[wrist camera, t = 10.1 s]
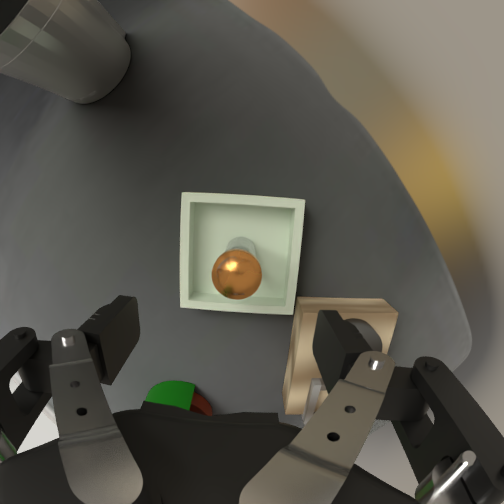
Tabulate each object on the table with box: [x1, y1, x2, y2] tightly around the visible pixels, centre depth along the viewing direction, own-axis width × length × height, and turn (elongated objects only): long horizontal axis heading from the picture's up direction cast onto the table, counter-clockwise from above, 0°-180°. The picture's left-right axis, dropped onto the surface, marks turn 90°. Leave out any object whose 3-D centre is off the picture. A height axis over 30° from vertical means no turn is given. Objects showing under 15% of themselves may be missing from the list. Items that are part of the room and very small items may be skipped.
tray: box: [180, 192, 305, 315], centre depth 26 cm, size 11×11×3 cm
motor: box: [145, 381, 212, 416], centre depth 22 cm, size 10×9×20 cm
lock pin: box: [212, 236, 262, 300], centre depth 23 cm, size 3×3×8 cm
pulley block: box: [282, 297, 398, 424], centre depth 27 cm, size 14×10×7 cm
